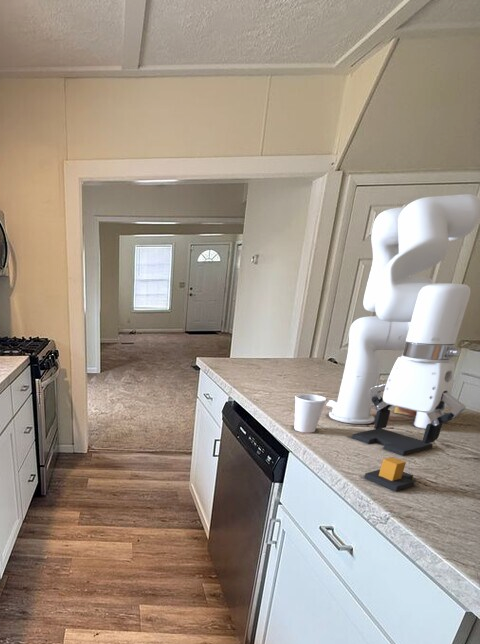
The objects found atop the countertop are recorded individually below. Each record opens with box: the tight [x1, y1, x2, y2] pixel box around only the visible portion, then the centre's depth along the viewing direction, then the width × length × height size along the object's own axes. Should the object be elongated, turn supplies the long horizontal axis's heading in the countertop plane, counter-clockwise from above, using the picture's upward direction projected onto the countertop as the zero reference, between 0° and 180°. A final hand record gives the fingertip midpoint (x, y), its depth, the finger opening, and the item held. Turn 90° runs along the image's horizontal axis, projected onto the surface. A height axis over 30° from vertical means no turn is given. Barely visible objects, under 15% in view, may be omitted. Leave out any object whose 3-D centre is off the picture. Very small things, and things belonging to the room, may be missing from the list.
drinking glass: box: [413, 378, 455, 430], centre depth 119 cm, size 7×7×15 cm
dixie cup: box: [293, 393, 328, 434], centre depth 119 cm, size 8×8×10 cm
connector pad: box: [363, 456, 416, 492], centre depth 88 cm, size 7×9×5 cm
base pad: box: [351, 428, 434, 456], centre depth 110 cm, size 14×12×1 cm
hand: (402, 434), depth 84 cm, fingers open, 9 cm apart
